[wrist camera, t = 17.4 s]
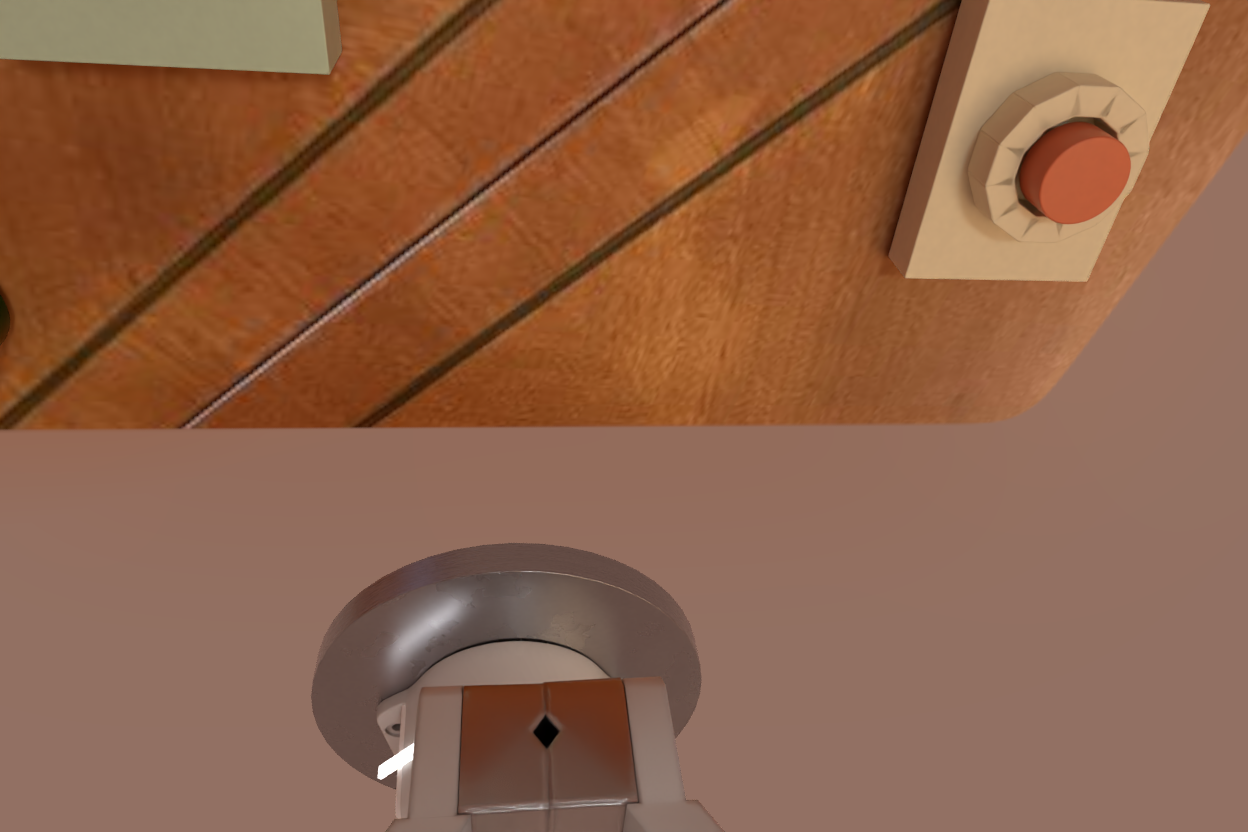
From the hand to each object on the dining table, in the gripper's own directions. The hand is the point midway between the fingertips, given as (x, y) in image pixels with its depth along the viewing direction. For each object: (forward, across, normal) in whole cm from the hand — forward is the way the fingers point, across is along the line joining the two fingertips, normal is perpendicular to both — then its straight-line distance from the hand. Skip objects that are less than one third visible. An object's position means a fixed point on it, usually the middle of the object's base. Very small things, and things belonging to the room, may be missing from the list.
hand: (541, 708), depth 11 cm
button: (+25, -22, +2) cm, 34 cm away
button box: (+29, -22, +2) cm, 36 cm away
